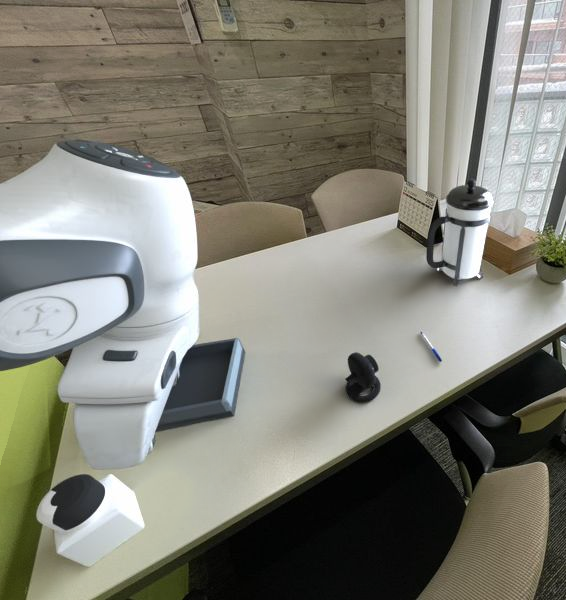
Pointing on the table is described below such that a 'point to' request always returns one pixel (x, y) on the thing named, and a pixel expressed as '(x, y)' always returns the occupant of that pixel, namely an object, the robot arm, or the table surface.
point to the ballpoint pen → (431, 347)
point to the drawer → (205, 385)
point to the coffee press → (462, 232)
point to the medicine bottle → (90, 516)
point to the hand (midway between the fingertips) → (158, 412)
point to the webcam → (362, 377)
